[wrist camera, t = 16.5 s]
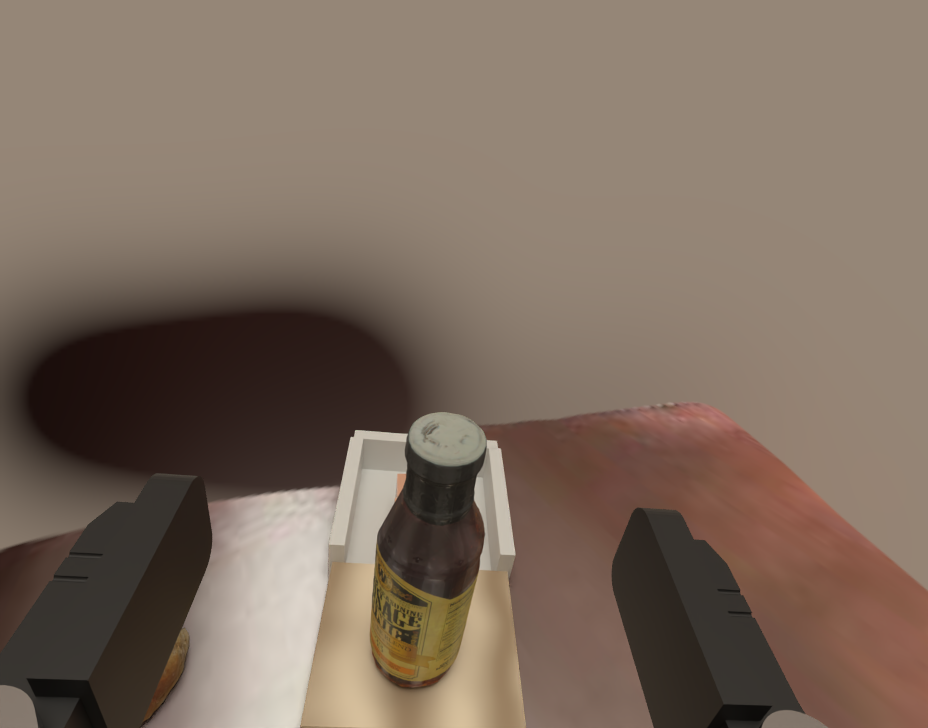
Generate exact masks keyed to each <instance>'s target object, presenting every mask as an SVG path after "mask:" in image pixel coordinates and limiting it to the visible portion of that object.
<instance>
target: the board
mask: <svg viewBox="0 0 928 728" xmlns="http://www.w3.org/2000/svg"><path fill="white" fill-rule="evenodd" d="M374 568H375V564H363V563H345V562H332V566H331V571H330V576H329V582H328V587H327V592H326V597H325V602H324V607H323V612H322V618H321V623H320V628H319V633H318V638H317V643H316V648H315V654H314V659H313V664H312V669H311V674H310V679H309V684H308V689H307V695H306V700H305V705H304V710H303V715H302V720H301V725H300V728H526V723H525V715H524V706H523V698H522V690H521V681H520V673H519V664H518V656H517V648H516V639H515V631H514V623H513V614H512V606H511V597H510V589H509V581H508V572H507V571H490V570H479V573H478V577H477V581H476V585H475V589H474V593H473V596H472V601H471V605H470V609H469V613H468V617H467V622H466V626H465V630H464V634H463V638H462V642H461V646H460V649H459V652H458V655H457V657H456V659H455V661H454V663H453V664H452V666H451V667H450V669H449V670H448V671H447V673H446V674H445V675H444V676H443V677H442V678H441V679H440V680H439V681H438V682H436V683H433V684H431V685H427V686H422V687H415V688H407V687H402V686H400V685H398V684H396V683H395V682H393V681H391V680H390V679H388V678H387V677H386V676H385V675H384V674H383V673H382V672H381V671H380V670H379V669H378V668H377V667H376V664H375V661H374V657H373V655H372V648H371V644H370V623H371V610H372V593H373V578H374Z"/></svg>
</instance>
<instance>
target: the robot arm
mask: <svg viewBox="0 0 928 728" xmlns="http://www.w3.org/2000/svg"><path fill="white" fill-rule="evenodd" d="M211 548H212V530H211V523H210V517H209V510H208V504H207V498H206V491H205V485H204V481H203V479H202V477H200V476H186V475H171V474H154V475H153V476H152V477H151V478H150V479H149V480H148V482H147V484H146V485H145V486H144V488H143V490H142V491H141V493H140V495H139V496H138V498H137V500H136V501H135V503H128V502H116V503H115V504H114V505H113V506H111V507H110V508H109V509H107V510H106V511H105V512H104V513H102V514H101V515H100V516H98V517H97V518H96V519H95V520H93V521H92V522H91V523H90V524H88V526H87V527H86V529H85V530H84V531H83V533H82V534H81V536H80V537H79V539H78V540H77V542H76V543H75V545H74V546H73V548H72V549H71V551H70V554H69V557H68V558H65V559H64V561H63V562H62V564H61V565H60V567H59V568H58V570H57V571H56V573H55V574H54V579H53V581H49V583H48V584H47V586H46V587H45V589H44V590H43V592H42V593H41V595H40V596H39V598H38V599H37V601H36V602H35V603H34V605H33V606H32V608H31V609H30V611H29V612H28V614H27V615H26V617H25V618H24V620H23V621H22V623H21V624H20V625H19V627H18V628H17V630H16V631H15V633H14V634H13V636H12V637H11V639H10V640H9V642H8V643H7V645H6V646H5V648H4V649H3V650H2V652H1V653H0V728H140V727H141V725H142V722H143V720H144V717H145V715H146V713H147V710H148V708H149V705H150V703H151V701H152V698H153V696H154V693H155V691H156V689H157V686H158V684H159V681H160V679H161V677H162V674H163V672H164V669H165V667H166V665H167V662H168V660H169V657H170V655H171V653H172V650H173V648H174V645H175V643H176V641H177V638H178V636H179V633H180V631H181V629H182V626H183V624H184V621H185V619H186V617H187V614H188V612H189V609H190V607H191V605H192V602H193V600H194V597H195V595H196V593H197V590H198V588H199V585H200V583H201V581H202V578H203V576H204V573H205V571H206V568H207V565H208V562H209V558H210V554H211ZM612 586H613V591H614V595H615V598H616V602H617V605H618V608H619V612H620V615H621V618H622V622H623V625H624V628H625V632H626V635H627V639H628V642H629V645H630V649H631V652H632V655H633V659H634V662H635V666H636V669H637V672H638V676H639V679H640V682H641V686H642V689H643V693H644V696H645V699H646V703H647V706H648V709H649V713H650V716H651V719H652V723H653V726H654V728H828V727H827V726H825V725H824V724H822V723H821V722H819V721H818V720H816V719H814V718H812V717H810V716H808V715H806V714H805V713H804V711H803V710H802V708H801V706H800V704H799V703H798V701H797V699H796V697H795V695H794V693H793V691H792V689H791V687H790V685H789V684H788V682H787V680H786V678H785V676H784V674H783V672H782V670H781V668H780V666H779V664H778V662H777V660H776V658H775V656H774V654H773V652H772V651H771V649H770V647H769V645H768V643H767V641H766V639H765V637H764V635H763V633H762V631H761V629H760V627H759V625H758V623H757V621H756V619H755V618H752V616H751V613H752V612H751V610H750V608H749V606H748V604H747V602H746V600H745V598H744V596H743V595H741V594H740V588H739V586H738V585H737V583H736V581H735V579H734V577H733V575H732V573H731V571H730V569H729V567H728V565H727V563H726V562H725V561H724V560H723V559H722V558H721V557H720V556H719V555H718V554H717V553H716V552H715V551H714V550H713V549H712V548H711V546H710V545H709V544H708V543H707V542H706V541H705V540H694V539H693V537H692V535H691V533H690V531H689V529H688V527H687V525H686V522H685V520H684V518H683V517H682V515H681V514H680V513H679V512H678V511H676V510H665V509H650V508H636V509H635V510H634V511H633V513H632V515H631V517H630V520H629V522H628V525H627V527H626V530H625V532H624V535H623V537H622V539H621V542H620V544H619V547H618V549H617V552H616V554H615V557H614V560H613V564H612Z"/></svg>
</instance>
